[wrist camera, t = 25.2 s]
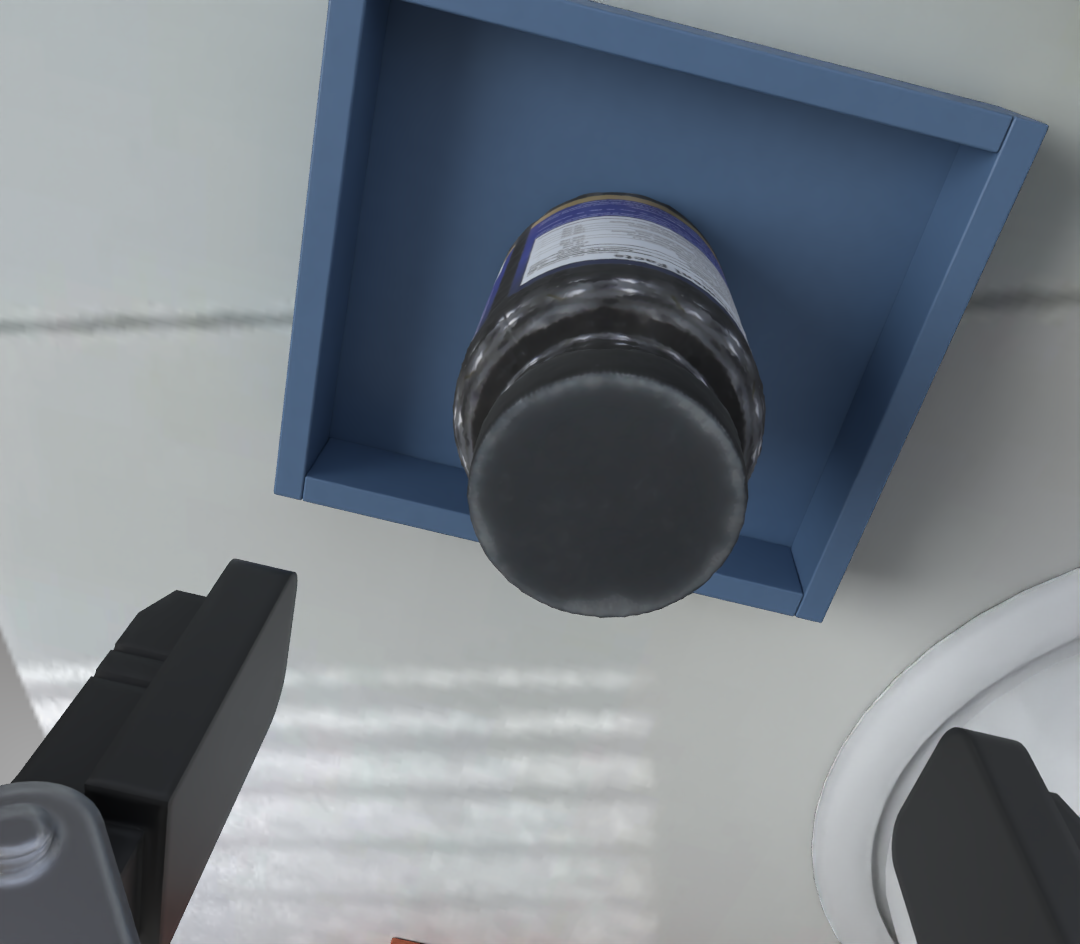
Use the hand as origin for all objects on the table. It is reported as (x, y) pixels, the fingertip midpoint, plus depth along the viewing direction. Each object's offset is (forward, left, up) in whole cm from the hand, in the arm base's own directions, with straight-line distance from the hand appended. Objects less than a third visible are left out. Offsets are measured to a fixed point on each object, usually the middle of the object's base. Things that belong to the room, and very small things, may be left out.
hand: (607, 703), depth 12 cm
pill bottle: (0, 0, -16) cm, 16 cm away
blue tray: (0, 0, -17) cm, 17 cm away
